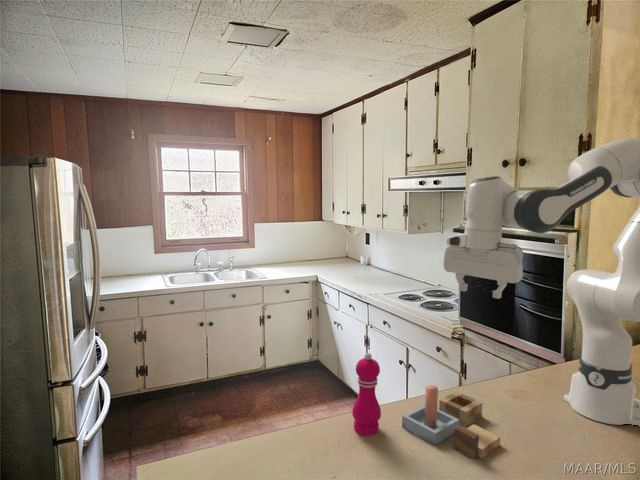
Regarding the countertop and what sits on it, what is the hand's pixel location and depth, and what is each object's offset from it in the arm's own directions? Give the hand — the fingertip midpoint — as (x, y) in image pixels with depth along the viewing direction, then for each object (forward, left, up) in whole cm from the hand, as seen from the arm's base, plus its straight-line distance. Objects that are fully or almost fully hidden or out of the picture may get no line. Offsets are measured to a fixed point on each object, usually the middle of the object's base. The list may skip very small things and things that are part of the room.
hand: (479, 294), depth 108 cm
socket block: (+1, -3, -34) cm, 34 cm away
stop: (+14, +7, -34) cm, 38 cm away
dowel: (+13, -4, -33) cm, 36 cm away
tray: (+13, -4, -34) cm, 37 cm away
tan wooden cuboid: (+9, +7, -34) cm, 36 cm away
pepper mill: (+26, -14, -34) cm, 45 cm away
